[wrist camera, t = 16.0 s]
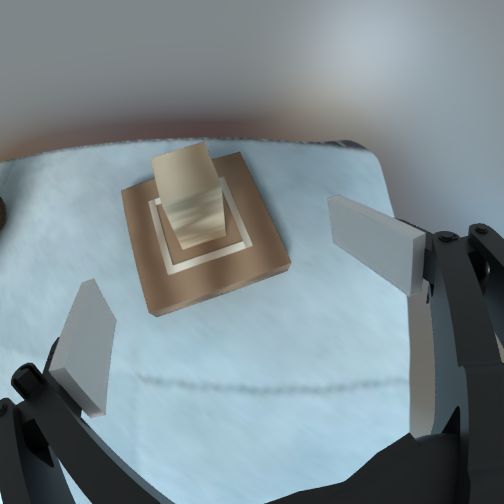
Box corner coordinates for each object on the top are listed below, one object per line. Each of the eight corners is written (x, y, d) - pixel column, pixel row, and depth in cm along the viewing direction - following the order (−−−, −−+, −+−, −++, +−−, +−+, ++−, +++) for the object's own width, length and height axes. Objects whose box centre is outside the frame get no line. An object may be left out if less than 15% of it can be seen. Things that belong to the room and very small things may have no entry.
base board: (156, 317, 32) (148, 312, 29) (128, 202, 37) (120, 189, 34) (287, 270, 34) (291, 261, 31) (239, 165, 40) (239, 150, 37)
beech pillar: (182, 249, 32) (161, 203, 22) (171, 212, 33) (150, 158, 24) (226, 235, 32) (221, 184, 23) (212, 198, 34) (204, 141, 25)
